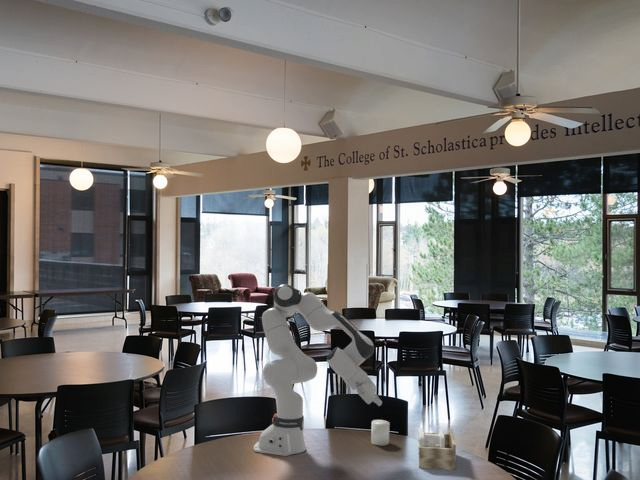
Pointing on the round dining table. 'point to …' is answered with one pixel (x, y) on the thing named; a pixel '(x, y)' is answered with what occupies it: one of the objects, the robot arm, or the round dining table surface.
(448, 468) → the bracket
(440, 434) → the cable organizer
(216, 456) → the round dining table surface
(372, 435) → the mug
